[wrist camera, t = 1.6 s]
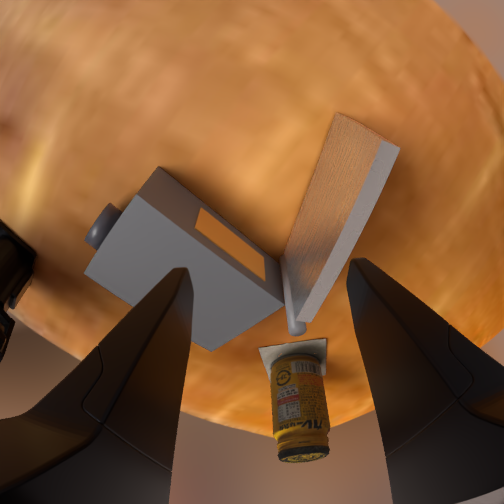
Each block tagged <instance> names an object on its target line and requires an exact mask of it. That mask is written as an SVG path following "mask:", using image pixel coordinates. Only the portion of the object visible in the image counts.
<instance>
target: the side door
mask: <svg viewBox="0 0 504 504" xmlns="http://www.w3.org/2000/svg"><path fill="white" fill-rule="evenodd" d="M399 151H400V147H398V146H396V145H395V144H393V143H392V142H390V141H389V140H387V139H385V138H384V137H382V136H381V135H379V134H377V133H376V132H374V131H372V130H371V129H369V128H367V127H366V126H364V125H362V124H360V123H359V122H357V121H355V120H353V119H351V118H349V117H347V116H344V115H342V114H339V113H336V114H335V117H334V120H333V122H332V125H331V128H330V131H329V134H328V136H327V139H326V142H325V145H324V147H323V150H322V153H321V156H320V158H319V161H318V164H317V166H316V169H315V172H314V174H313V177H312V180H311V182H310V185H309V188H308V190H307V193H306V196H305V198H304V201H303V203H302V206H301V209H300V211H299V214H298V216H297V219H296V221H295V224H294V227H293V229H292V232H291V234H290V237H289V239H288V242H287V244H286V247H285V249H284V254H285V259H286V265H287V271H288V277H289V283H290V290H291V296H292V302H293V309H294V315H295V321H302V322H310V323H311V321H312V320H313V318H314V317H315V315H316V313H317V312H318V310H319V308H320V307H321V305H322V303H323V301H324V300H325V298H326V296H327V295H328V293H329V291H330V289H331V288H332V286H333V284H334V282H335V281H336V279H337V277H338V275H339V274H340V272H341V270H342V268H343V266H344V264H345V263H346V261H347V259H348V257H349V255H350V253H351V252H352V250H353V248H354V246H355V244H356V242H357V240H358V238H359V236H360V234H361V232H362V230H363V228H364V226H365V224H366V222H367V220H368V218H369V216H370V214H371V212H372V210H373V208H374V206H375V204H376V202H377V200H378V198H379V196H380V194H381V191H382V189H383V187H384V185H385V183H386V180H387V178H388V176H389V174H390V172H391V169H392V167H393V165H394V162H395V160H396V158H397V155H398V153H399Z"/></svg>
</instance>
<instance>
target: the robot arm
mask: <svg viewBox="0 0 504 504" xmlns="http://www.w3.org/2000/svg"><path fill="white" fill-rule="evenodd" d="M35 260H36V253H35V252H34V251H33V250H32V249H30V248H29V247H28V246H27V245H26V244H24V243H23V242H22V241H21V240H20V239H19V238H17V237H16V236H15V235H14V234H13V233H12V232H11V231H9V230H8V229H7V228H6V227H5V226H4V225H3V224H2V223H1V222H0V362H1V360H2V358H3V356H4V354H5V351H6V348H7V345H8V342H9V339H10V336H11V333H12V330H13V327H14V325H15V321H14V320H13V319H12V318H10V316H9V315H8V314H7V313H6V312H7V310H8V309H9V307H10V308H11V309H15V307H16V305H17V304H18V302H19V301H20V299H21V298H22V296H23V294H24V293H25V291H26V290H27V288H28V287H29V285H30V284H31V280H32V277H33V274H34V270H33V266H34V263H35ZM346 285H347V291H348V297H349V302H350V307H351V312H352V318H353V324H354V329H355V334H356V337H357V341H358V344H359V348H360V351H361V355H362V359H363V362H364V366H365V370H366V373H367V377H368V381H369V385H370V389H371V393H372V397H373V401H374V405H375V410H376V414H377V418H378V423H379V427H380V432H381V437H382V442H383V446H384V451H385V456H386V463H387V468H388V474H389V480H390V487H391V493H392V500H393V504H504V366H502V365H501V364H500V363H498V362H497V361H496V360H494V359H493V358H492V357H490V356H489V355H488V354H486V353H485V352H484V351H482V350H481V349H480V348H479V347H477V346H476V345H475V344H473V343H472V342H471V341H470V340H468V339H467V338H466V337H465V336H464V335H462V334H461V333H460V332H459V331H458V330H456V329H455V328H454V327H453V326H452V325H449V323H448V322H447V321H446V320H444V319H443V318H442V317H441V316H440V315H438V314H437V313H436V312H435V311H433V310H432V309H431V308H430V307H429V306H427V305H426V304H425V303H424V302H422V301H421V300H420V299H419V298H417V297H416V296H415V295H413V294H412V293H411V292H410V291H408V290H407V289H406V288H405V287H403V286H402V285H401V284H399V283H398V282H397V281H395V280H394V279H393V278H392V277H390V276H389V275H388V274H386V273H385V272H384V271H382V270H381V269H380V268H378V267H377V266H376V265H374V264H373V263H372V262H370V261H369V260H367V259H366V258H353V259H352V260H351V261H350V265H349V271H348V276H347V282H346ZM193 302H194V290H193V285H192V281H191V277H190V273H189V270H188V268H186V267H176V268H173V269H172V270H171V271H170V272H169V273H167V274H166V275H165V276H164V277H163V278H162V279H161V280H160V281H159V282H158V283H157V284H156V285H155V286H154V287H153V288H152V289H151V290H150V291H149V292H148V293H147V294H146V295H145V296H144V297H143V298H142V299H141V300H140V301H139V302H138V303H137V304H136V305H135V306H134V307H133V308H132V309H131V310H130V311H129V312H128V313H127V315H126V316H125V317H124V318H123V319H122V320H121V321H120V322H119V323H118V324H117V325H116V326H115V327H114V328H113V329H112V330H111V331H110V332H109V333H108V334H107V335H106V336H105V337H104V338H103V339H102V341H101V342H100V343H99V344H98V346H96V347H95V348H94V349H93V350H92V351H91V352H90V353H89V354H88V355H87V356H86V357H85V358H84V359H83V360H82V362H81V363H80V364H79V365H78V366H77V367H76V368H75V369H74V370H73V371H72V372H70V373H69V374H68V375H67V376H66V377H65V378H64V379H63V380H62V381H61V382H60V383H59V384H58V385H57V386H55V387H54V388H53V389H52V390H51V391H50V392H49V393H48V394H47V395H46V396H45V397H44V398H42V400H40V401H39V402H38V403H37V404H36V405H35V406H34V407H33V408H31V409H30V410H28V411H27V412H25V413H23V414H21V415H19V416H16V417H12V418H6V419H1V420H0V504H169V494H170V485H171V476H172V472H171V471H172V465H173V458H174V450H175V442H176V435H177V428H178V421H179V414H180V407H181V400H182V394H183V387H184V381H185V375H186V369H187V363H188V357H189V351H190V345H191V335H192V318H193Z"/></svg>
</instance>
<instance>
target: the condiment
mask: <svg viewBox="0 0 504 504" xmlns="http://www.w3.org/2000/svg"><path fill="white" fill-rule="evenodd" d="M259 351H260V354H261V357H262V360H263V363H264V366H265V368H266V371H267V374H268V377H269V380H270V383H271V386H270V387H271V398H272V415H273V435H274V438H275V439H276V440H277V441H278V444H277V448H278V450H279V451H278V453H279V454H278V457H279V460H280V461H282V462H286V463H302V462H309V461H314V460H318V459H321V458H324V457H326V456H327V455H328V454H329V450H330V449H329V446H328V441H329V440H328V437H327V434H328V432H329V431H330V422H329V415H328V409H327V403H326V396H325V390H324V384H323V378H322V375H326V339H320V340H318V339H315V340H309V341H301V342H295V343H285V344H282V345H277V346H269V347H263V348H259ZM281 353H282V354H281ZM280 354H281V355H280ZM279 355H280V356H279ZM278 356H279V357H278Z"/></svg>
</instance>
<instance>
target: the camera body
mask: <svg viewBox="0 0 504 504" xmlns="http://www.w3.org/2000/svg"><path fill="white" fill-rule="evenodd" d="M84 241H85V242H87V243H88V244H89V245H91V246H92V247H93V248H95V249H96V250H97V252H96V254H95V255H94V257H93V259H92V260H91V262H90V264H89V265H88V267H87V269H86V270H85V272H84V274H85V275H87V276H88V277H90V278H91V279H92V280H94V281H95V282H97V283H98V284H100V285H101V286H102V287H104V288H105V289H107V290H108V291H110V292H111V293H113V294H114V295H116V296H117V297H119V298H120V299H122V300H123V301H125V302H127V303H128V304H130V305H131V306H133V307H134V306H135V305H136V304H137V303H138V302H139V301H140V300H141V299H142V298H143V297H144V296H145V295H146V294H147V293H148V292H149V291H150V290H151V289H152V288H153V287H154V286H155V285H156V284H157V283H158V282H159V281H160V280H161V279H162V278H163V277H164V276H165V275H166V274H167V273H169V272H170V271H171V270H172V269H173V268H176V267H186V268H188V270H189V273H190V277H191V281H192V285H193V290H194V302H193V318H192V335H191V341H192V342H194V343H196V344H198V345H200V346H202V347H203V348H205V349H207V350H209V351H211V352H212V351H213V350H215V349H217V348H218V347H220V346H222V345H223V344H225V343H227V342H228V341H230V340H231V339H233V338H235V337H236V336H238V335H240V334H241V333H243V332H244V331H246V330H247V329H249V328H251V327H252V326H254V325H255V324H257V323H258V322H260V321H262V320H263V319H265V318H266V317H268V316H269V315H271V314H272V313H274V312H275V311H277V310H278V309H280V308H281V307H283V306H284V305H285V306H286V314H287V322H288V330H289V334H290V335H292V336H300V335H303V334H304V333H305V332H306V330H307V329H306V324H305V322H302V321H295V315H294V309H293V302H292V296H291V290H290V283H289V277H288V271H287V265H286V259H285V254H283V255H281V256H280V258H279V262H280V264H279V263H277V262H276V261H275V260H274V259H272V258H271V257H270V256H269V255H268V254H266V253H265V252H264V251H263V250H261V249H260V248H259V247H258V246H257V245H255V244H254V243H253V242H252V241H250V240H249V239H248V238H247V237H245V236H244V235H243V234H242V233H241V232H239V231H238V230H237V229H236V228H234V227H233V226H232V225H231V224H229V223H228V222H227V221H226V220H225V219H223V218H222V217H221V216H220V215H218V214H217V213H216V212H215V211H213V210H212V209H211V208H210V207H208V206H207V205H206V204H205V203H203V202H202V201H201V200H200V199H199V198H197V197H196V196H195V195H194V194H192V193H191V192H190V191H189V190H187V189H186V188H185V187H184V186H182V185H181V184H180V183H179V182H177V181H176V180H175V179H174V178H172V177H171V176H170V175H169V174H167V173H166V172H165V171H164V170H162V169H161V168H160V167H159V166H158V167H157V169H156V170H155V171H154V172H153V173H152V175H151V176H150V177H149V178H148V180H147V181H146V182H145V184H144V185H143V186H142V187H141V189H140V190H139V191H138V193H137V194H136V195H135V197H134V198H133V199H132V201H131V202H130V203H129V205H128V206H127V208H126V209H125V210H124V212H122V211H120V210H119V209H118V208H116V207H115V206H114V205H112V204H111V203H109V204H108V205H107V206H106V207H105V209H104V210H103V211H102V213H101V214H100V215H99V217H98V218H97V220H96V221H95V223H94V224H93V226H92V227H91V229H90V231H89V232H88V234H87V236H86V237H85V240H84ZM280 269H281V271H280ZM281 276H282V278H281ZM282 284H283V286H282ZM283 291H284V293H283ZM284 299H285V301H284Z"/></svg>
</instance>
